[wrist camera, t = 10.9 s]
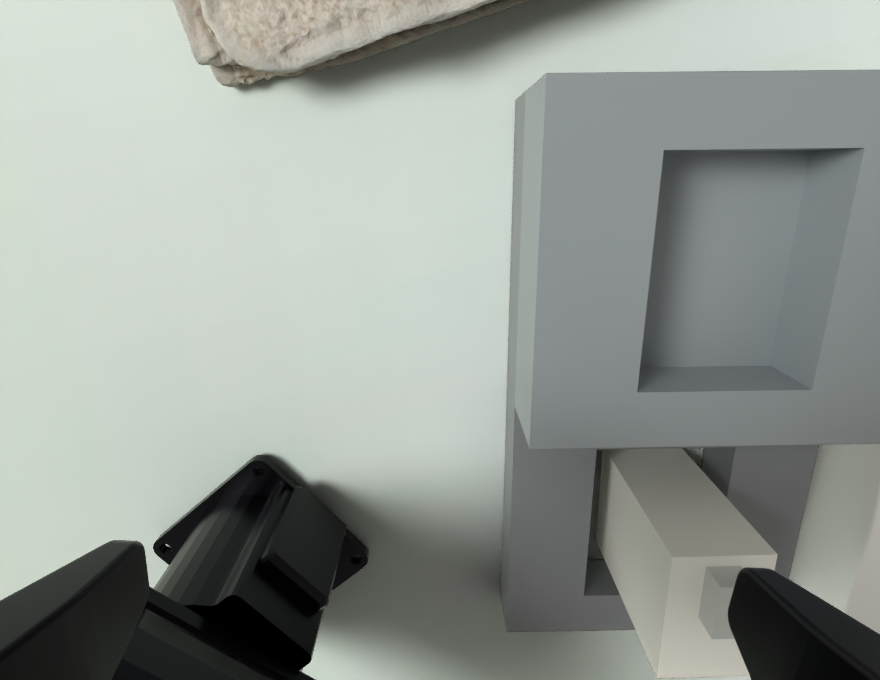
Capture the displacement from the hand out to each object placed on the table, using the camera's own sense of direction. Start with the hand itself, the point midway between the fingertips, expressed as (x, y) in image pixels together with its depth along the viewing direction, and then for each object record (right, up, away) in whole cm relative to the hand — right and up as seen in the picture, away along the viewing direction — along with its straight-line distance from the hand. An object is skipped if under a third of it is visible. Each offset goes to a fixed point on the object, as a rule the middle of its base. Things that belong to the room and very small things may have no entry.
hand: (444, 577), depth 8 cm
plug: (+8, -3, +14) cm, 16 cm away
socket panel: (+8, +2, +12) cm, 15 cm away
